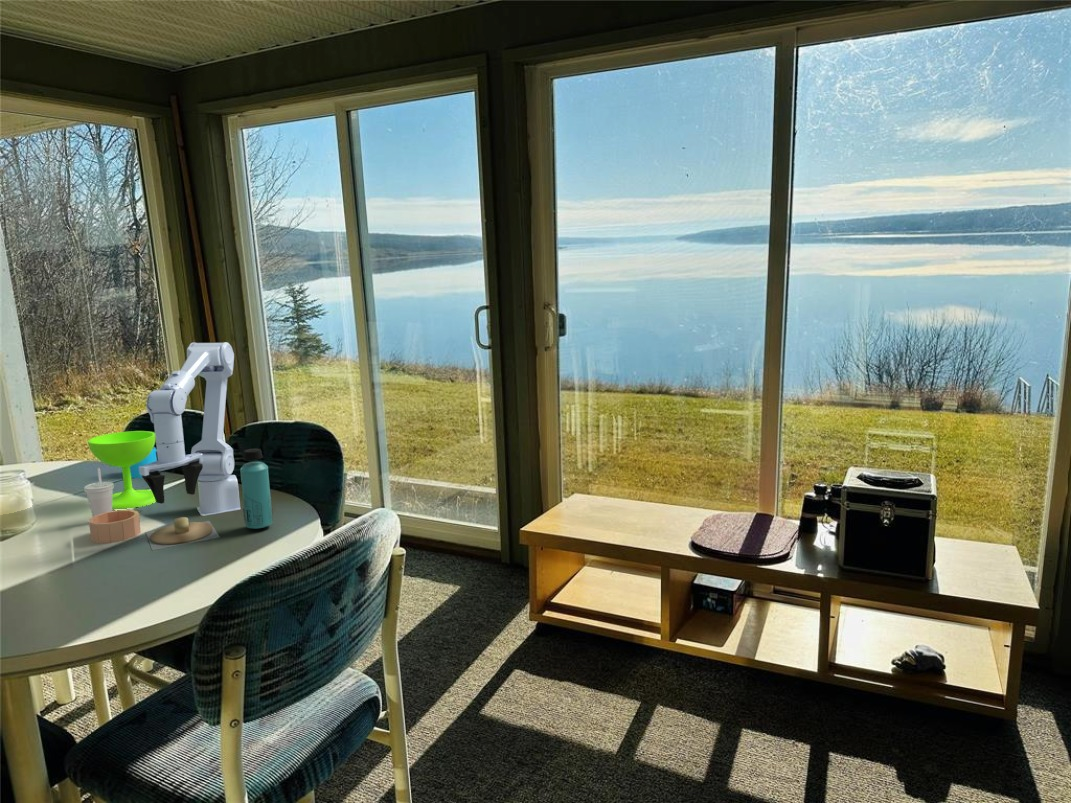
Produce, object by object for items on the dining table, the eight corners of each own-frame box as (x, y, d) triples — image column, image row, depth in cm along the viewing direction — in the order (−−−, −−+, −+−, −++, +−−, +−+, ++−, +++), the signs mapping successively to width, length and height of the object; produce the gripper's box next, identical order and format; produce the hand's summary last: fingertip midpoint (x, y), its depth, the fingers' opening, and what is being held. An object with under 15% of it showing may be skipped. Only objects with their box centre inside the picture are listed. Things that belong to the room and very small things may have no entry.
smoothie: (104, 527, 174) (97, 472, 172) (81, 525, 175) (74, 471, 173) (124, 518, 180) (117, 465, 178) (102, 517, 181) (95, 464, 179)
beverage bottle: (279, 526, 173) (273, 447, 169) (261, 536, 167) (254, 453, 163) (257, 524, 175) (251, 445, 172) (238, 533, 169) (231, 451, 165)
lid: (207, 521, 176) (206, 507, 175) (217, 537, 165) (215, 521, 165) (148, 532, 169) (146, 517, 168) (154, 549, 158) (152, 533, 157)
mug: (128, 479, 216) (125, 453, 215) (128, 473, 223) (125, 448, 222) (172, 473, 222) (169, 448, 221) (170, 468, 229) (168, 443, 228)
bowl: (138, 526, 174) (136, 507, 173) (142, 538, 166) (140, 518, 165) (90, 535, 169) (88, 515, 168) (92, 548, 161) (89, 527, 160)
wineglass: (175, 493, 201) (168, 431, 198) (134, 511, 186) (126, 445, 182) (125, 491, 204) (118, 430, 201) (81, 509, 188) (72, 443, 185)
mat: (209, 522, 177) (209, 520, 177) (220, 539, 165) (219, 537, 165) (145, 534, 169) (145, 532, 169) (152, 552, 158) (152, 550, 157)
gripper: (188, 433, 171) (193, 487, 174) (128, 446, 159) (135, 504, 161) (206, 436, 168) (211, 491, 170) (147, 449, 156) (153, 508, 158)
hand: (175, 498), depth 166 cm, fingers open, 7 cm apart
